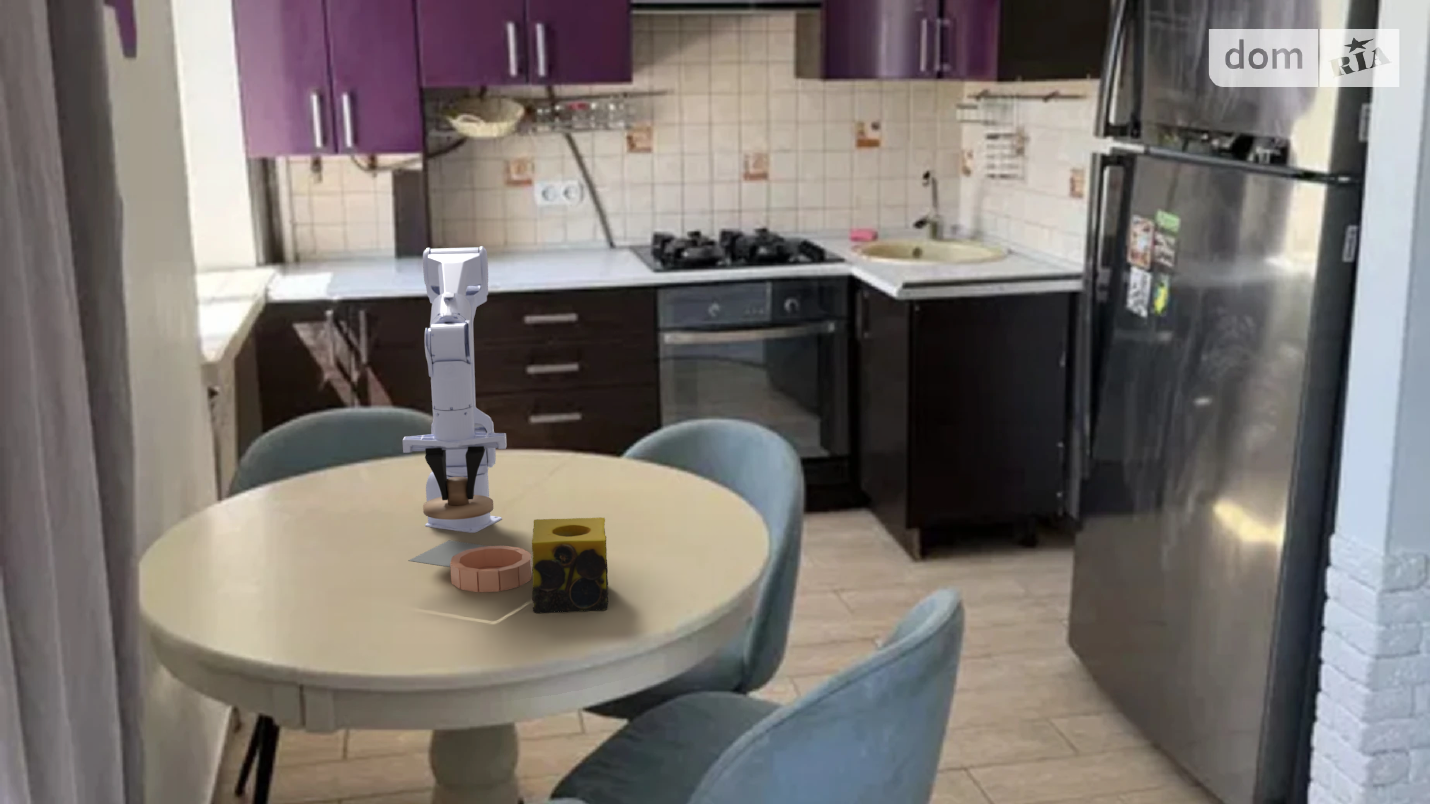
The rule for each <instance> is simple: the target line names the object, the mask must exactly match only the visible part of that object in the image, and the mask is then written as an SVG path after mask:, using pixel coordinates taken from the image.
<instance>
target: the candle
mask: <svg viewBox="0 0 1430 804" xmlns="http://www.w3.org/2000/svg"><path fill="white" fill-rule="evenodd" d="M605 523H606V518H605V517H599V516H598V517H581V518H580V517H578V518H577V517H575V518H572V517H571V518H546V519H544V518H543V519H540V518H539V519H538V518H537V519H533V529H532V533H533V534H532V540H531V550H532V551H531V552H532V595H531V598H532V603H533V607H532V612H533V613H536V614H544V613H546V614H549V613H550V614H551V613H576V612H587V611H589V612H590V611H606V610H607V609H608V606H609V590H608V589H609V587H608V586H609V578H608V574H609V573H608V569H609V568H608V560H607V558H608V556H607V554H608V553H607V551H608V549H607V535H606V528H605Z"/></svg>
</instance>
